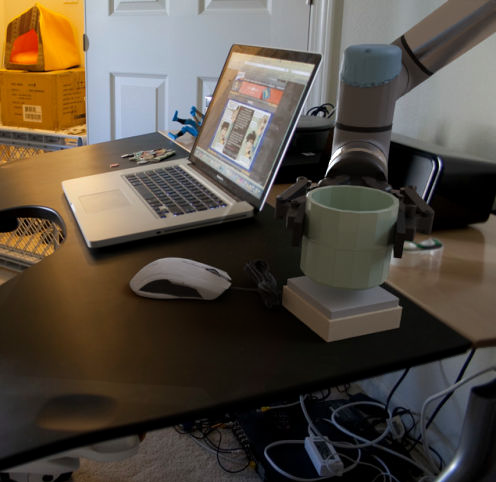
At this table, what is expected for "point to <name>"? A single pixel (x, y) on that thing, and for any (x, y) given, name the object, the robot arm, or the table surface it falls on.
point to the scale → (341, 309)
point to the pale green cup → (348, 236)
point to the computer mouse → (199, 280)
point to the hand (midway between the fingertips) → (346, 240)
